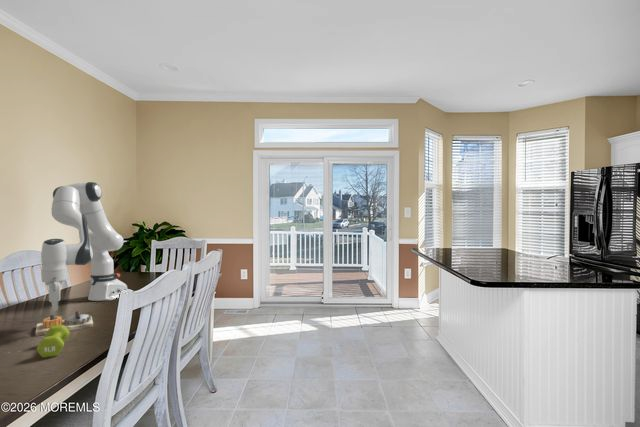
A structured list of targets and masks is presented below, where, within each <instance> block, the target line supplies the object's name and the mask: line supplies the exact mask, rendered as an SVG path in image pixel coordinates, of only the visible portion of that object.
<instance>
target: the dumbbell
mask: <svg viewBox="0 0 640 427" xmlns="http://www.w3.org/2000/svg"><path fill="white" fill-rule="evenodd" d="M70 334H71V333H70V331H69V330H68V329H67V328H66V326H65V325H56V326H52V327H50V329H49V330H48V331H47V333H46V335H44V337H43V338H42V340H41V341H40V342H39V343H38V345H37V347H36V352H37V353H38V354H39V356H40V357H41V358H43V359H46V358H53V357H57V356H58V355H59V354H60V353H61V352H62V350H63V349H64V347H65V342H66V341H67V339H68V337H69V335H70Z"/></svg>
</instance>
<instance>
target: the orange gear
mask: <svg viewBox="0 0 640 427" xmlns="http://www.w3.org/2000/svg"><path fill="white" fill-rule="evenodd" d="M62 320H63V316H62V315H61V316H60V315H59V316H58V315H57V316H56V315H55V319H54V320H50V317H46V318H43V319H42V323H43V328H50V327H52V326H56V325H61V324H62Z"/></svg>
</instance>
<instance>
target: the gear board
mask: <svg viewBox="0 0 640 427" xmlns="http://www.w3.org/2000/svg"><path fill="white" fill-rule="evenodd" d="M74 313H75V315H69V316H67V317H65V318H64V319H62V324H61V325H65V326H66V328H67V329H68V330H69V332H70V331H75V330H80V329H81V330H82V329H87V328H92V327H94V321H93V317H92V315H90V314H88V313H86V314H85V313H83V314H82V313H81V310H80V311H75V312H74ZM55 317H56V314H50V315H49V318H50V320H54V319H55ZM35 328H36V329H35V337H37V336H38V337H39V336H45V335H46V333H47V331H48V330H49V329H50V328H43V322H41V323H36V327H35Z"/></svg>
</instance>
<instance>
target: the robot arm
mask: <svg viewBox="0 0 640 427" xmlns="http://www.w3.org/2000/svg"><path fill="white" fill-rule="evenodd" d="M102 195H103V192H102V188H101V186H100V185H99V184H98V183H97V182H93V181H89V182H77V183H72V184H67V185H61V186H58V187H56V188H55V189H54V190H53V192H52V198H53V200H52V202H51V216H52V217H53V219H54V220H55V221H57V222H58V223H59V224H63V225H65V226H69V227H72V228H74V229H76V230H78V235H79V236H78V237H79V243H73V244H66V241H65V240H64V239H63V238H50V239H46V240H44V241H43V242H42V246H41V254H40V257H41V259H40V261H41V264H42V267H41V283H44V284H45V286H48V301H49V303H51V308H52V309H51V310H52V311H57V310H59V309H58V305H59V302H60V301H61V285H62V284H64V281H65V280H67V279H68V267H67V266H71V265H72V266H74V265H75V266H86V265H87V264H89V263H90V264H91V269H90V270H91V274H90V279H89V283H90V290H89V293H88V298H87V300H88V301H93V302H94V301H95V302H96V301H101V302H102V301H112V300H113V301H114V300H116V298H117V299H119V294H120V291H121V290H124V289H128V285H127V284H126V283H125V282H123V281H121V280H119V279H118V278H120V277H121V274H120V273H115V272H114V271H115V270H114V268H115V267H114V266H115V265H114V264H115V263H114V259H113V258H112V257H111V255H110V254H109V252H115V251H118V250H120V249H121V248H122V247H123V245H124V241H125V240H124V238H123V236H122V235H121V234H120V233H118V232H117V231H116V230H115V229H114V228H113V226H112V225H111V224H110V222H109V220H108V218H107V215H106V213H105V210H104V207H103V204H102V202H101V200H100V199H101V198H102ZM89 230H90V231H89Z"/></svg>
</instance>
